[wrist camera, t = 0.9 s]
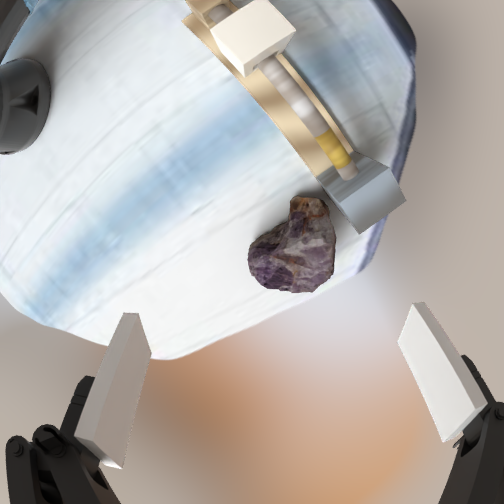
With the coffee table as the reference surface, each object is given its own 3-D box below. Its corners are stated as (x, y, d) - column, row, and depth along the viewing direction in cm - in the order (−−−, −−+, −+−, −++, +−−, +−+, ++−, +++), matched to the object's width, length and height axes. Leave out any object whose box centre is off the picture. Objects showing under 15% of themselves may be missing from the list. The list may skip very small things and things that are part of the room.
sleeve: (220, 51, 24) (209, 29, 16) (258, 25, 23) (262, -5, 15) (244, 78, 26) (243, 64, 18) (283, 51, 25) (296, 30, 17)
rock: (242, 230, 40) (286, 278, 44) (230, 266, 33) (283, 318, 36) (312, 181, 35) (353, 238, 39) (317, 208, 28) (365, 275, 31)
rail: (182, 22, 26) (157, -8, 16) (221, -5, 24) (211, -44, 14) (331, 199, 37) (359, 234, 27) (366, 174, 35) (406, 200, 25)
